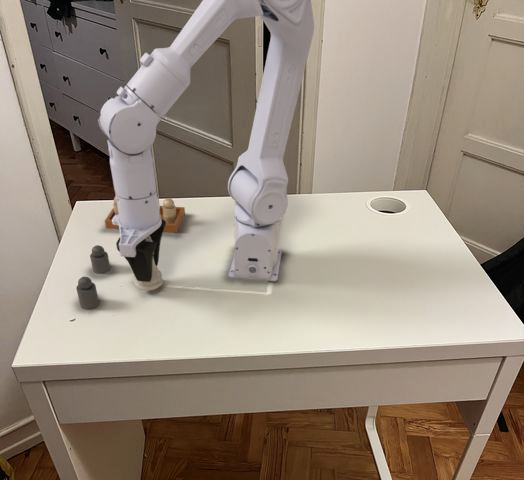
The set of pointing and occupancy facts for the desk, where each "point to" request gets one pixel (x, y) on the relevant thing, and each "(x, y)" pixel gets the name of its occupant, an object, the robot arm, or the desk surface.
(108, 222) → the oak tray
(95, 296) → the grey pawn
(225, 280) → the desk surface
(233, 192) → the robot arm
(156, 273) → the rook chess piece
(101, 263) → the grey pawn
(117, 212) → the ivory piece
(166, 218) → the ivory piece
